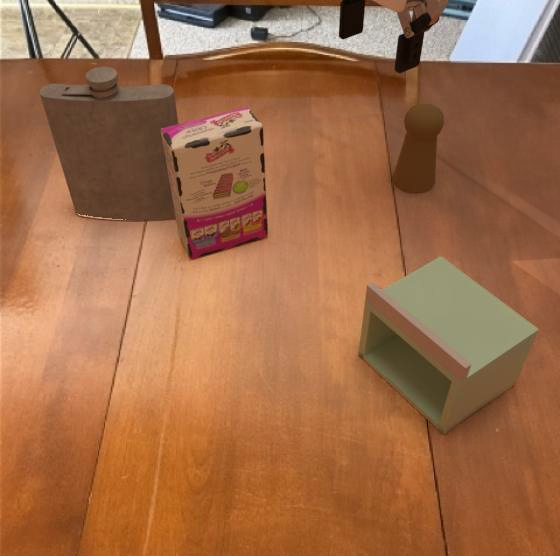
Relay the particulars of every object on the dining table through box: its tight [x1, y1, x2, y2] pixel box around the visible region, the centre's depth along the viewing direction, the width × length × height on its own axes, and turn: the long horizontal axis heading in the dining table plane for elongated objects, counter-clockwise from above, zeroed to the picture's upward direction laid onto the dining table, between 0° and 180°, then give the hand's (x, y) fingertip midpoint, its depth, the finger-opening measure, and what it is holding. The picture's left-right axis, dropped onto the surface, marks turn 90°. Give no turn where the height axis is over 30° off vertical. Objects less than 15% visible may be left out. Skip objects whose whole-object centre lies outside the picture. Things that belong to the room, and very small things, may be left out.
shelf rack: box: [357, 255, 540, 436], centre depth 71 cm, size 11×14×11 cm
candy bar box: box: [160, 106, 269, 260], centre depth 84 cm, size 11×5×16 cm, turn 114°
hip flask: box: [39, 66, 179, 222], centre depth 86 cm, size 16×4×20 cm, turn 88°
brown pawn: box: [392, 103, 445, 194], centre depth 93 cm, size 6×6×11 cm
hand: (377, 51), depth 77 cm, fingers open, 9 cm apart
